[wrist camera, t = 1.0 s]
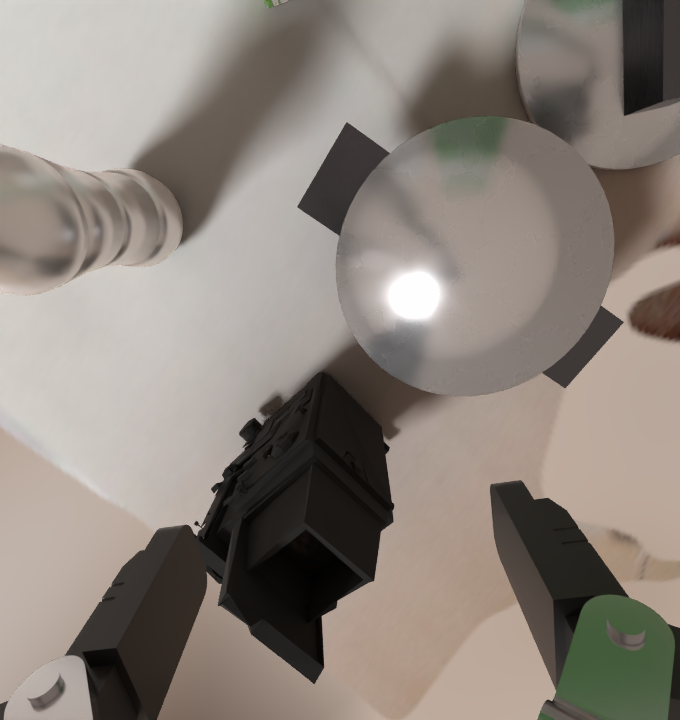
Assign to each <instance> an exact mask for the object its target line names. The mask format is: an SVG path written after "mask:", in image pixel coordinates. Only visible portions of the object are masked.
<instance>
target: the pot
mask: <svg viewBox="0 0 680 720" xmlns="http://www.w3.org/2000/svg"><path fill="white" fill-rule="evenodd" d="M298 208H299V209H301V210H302V211H304V212H305V213H307V214H308V215H310V216H311V217H313V218H314V219H316V220H317V221H318V222H320V223H321V224H323V225H324V226H326V227H327V228H329V229H330V230H332V231H333V232H335V233H336V234H338V235H339V236H340V237H339V241H338V248H337V257H336V282H337V289H338V296H339V300H340V303H341V307H342V311H343V314H344V316H345V319H346V321H347V323H348V326H349V328H350V330H351V332H352V333H353V335H354V337H355V338H356V340H357V342H358V343H359V344H360V346H361V347H362V348H363V349H364V351H365V352H366V353H367V354H368V356H369V357H370V358H371V359H372V360H373V361H374V362H375V363H377V364H378V365H379V366H380V367H381V368H382V369H384V370H385V371H386V372H388V373H389V374H390V375H392V376H393V377H395V378H397V379H398V380H400V381H402V382H404V383H406V384H408V385H410V386H413V387H415V388H418V389H420V390H423V391H427V392H431V393H435V394H440V395H448V396H477V395H485V394H491V393H495V392H499V391H503V390H506V389H509V388H512V387H514V386H517V385H520V384H522V383H524V382H526V381H528V380H530V379H532V378H534V377H536V376H537V375H539V374H540V373H543V374H545V375H546V376H548V377H549V378H551V379H552V380H554V381H555V382H557V383H558V384H560V385H561V386H563V387H564V388H566V387H567V386H568V385H569V384H570V382H571V381H572V380H573V379H574V378H575V377H576V376H577V374H578V373H579V372H580V371H581V370H582V369H583V368H584V367H585V365H586V364H587V363H588V362H589V361H590V360H591V359H592V358H593V356H594V355H595V354H596V353H597V352H598V351H599V350H600V348H601V347H602V346H603V345H604V344H605V343H606V342H607V341H608V339H609V338H610V337H611V336H612V335H613V334H614V333H615V332H616V330H617V329H618V328H619V327H620V325H622V324H623V323H624V322H623V321H621V320H620V319H619V318H617V317H616V316H615V315H613V314H612V313H610V312H609V311H608V310H606V309H605V308H603V307H602V306H601V303H602V301H603V299H604V297H605V294H606V291H607V287H608V284H609V281H610V278H611V272H612V266H613V261H614V243H615V239H614V228H613V220H612V216H611V211H610V207H609V203H608V201H607V198H606V196H605V193H604V190H603V188H602V186H601V184H600V182H599V180H598V179H597V177H596V175H595V173H594V172H593V170H592V169H591V167H590V166H589V165H588V164H587V162H586V161H585V160H584V159H583V157H582V156H581V155H580V154H579V153H578V152H577V151H576V150H574V149H573V148H572V147H571V146H570V145H569V144H568V143H567V142H565V141H564V140H562V139H561V138H559V137H558V136H556V135H555V134H553V133H552V132H550V131H548V130H546V129H543V128H541V127H539V126H537V125H535V124H532V123H529V122H525V121H521V120H518V119H514V118H507V117H499V116H474V117H468V118H462V119H456V120H452V121H449V122H446V123H443V124H440V125H436V126H434V127H432V128H430V129H427V130H425V131H423V132H421V133H419V134H417V135H415V136H414V137H412V138H411V139H409V140H407V141H406V142H404V143H403V144H401V145H400V146H398V147H397V148H396V149H395V150H394V151H392V152H391V153H389V152H387V151H386V150H385V149H383V148H382V147H381V146H379V145H378V144H376V143H375V142H374V141H372V140H371V139H369V138H368V137H367V136H365V135H364V134H363V133H361V132H360V131H358V130H357V129H356V128H354V127H353V126H351V125H350V124H349V123H346V124H345V126H344V128H343V129H342V131H341V133H340V135H339V136H338V138H337V140H336V141H335V143H334V145H333V147H332V148H331V150H330V152H329V153H328V155H327V157H326V159H325V160H324V162H323V164H322V165H321V167H320V169H319V171H318V172H317V174H316V176H315V177H314V179H313V181H312V183H311V184H310V186H309V188H308V189H307V191H306V193H305V195H304V196H303V198H302V200H301V201H300V203H299V205H298Z"/></svg>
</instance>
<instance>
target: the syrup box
mask: <svg viewBox="0 0 680 720" xmlns="http://www.w3.org/2000/svg"><path fill="white" fill-rule="evenodd" d="M287 1H290V0H264V2H265V5H266V7H267V8H271V7H274V6H276V5H279V4H282V3H284V2H287Z"/></svg>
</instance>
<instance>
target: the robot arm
mask: <svg viewBox="0 0 680 720" xmlns="http://www.w3.org/2000/svg"><path fill="white" fill-rule="evenodd" d="M490 495H491V506H492V518H493V529H494V538H495V543H496V547H497V551H498V554H499V557H500V560H501V562H502V565H503V567H504V569H505V572H506V574H507V576H508V579H509V581H510V583H511V586H512V588H513V591H514V593H515V595H516V598H517V600H518V602H519V605H520V607H521V609H522V612H523V614H524V616H525V619H526V621H527V623H528V625H529V628H530V630H531V632H532V635H533V637H534V640H535V642H536V644H537V647H538V649H539V652H540V654H541V656H542V658H543V661H544V663H545V665H546V668H547V670H548V672H549V675H550V677H551V680H552V682H553V684H554V687H555V689H556V694H555V697H554V699H553V701H550V700H546V701H545V703H544V705H543V707H542V709H541V711H540V714H539V717H538V720H680V628H678V627H675V626H672V625H669V624H667V623H666V621H665V620H664V619H663V618H662V617H661V616H660V615H659V614H657V613H656V612H655V611H654V610H652V609H651V608H649V607H648V606H646V605H645V604H643V603H641V602H639V601H636V600H634V599H631V598H629V596H628V595H627V594H626V593H625V591H624V590H623V588H622V587H621V585H620V584H619V583H618V581H617V580H616V578H615V577H614V576H613V574H612V573H611V571H610V570H609V569H608V567H607V566H606V565H605V563H604V562H603V560H602V559H601V558H600V556H599V555H598V553H597V552H596V551H595V549H594V548H593V546H592V545H591V544H590V543H588V540H587V538H586V537H585V535H584V534H583V533H582V531H581V530H579V529H578V526H577V524H576V523H575V521H574V520H573V519H572V517H571V516H570V514H569V513H568V512H567V510H565V509H564V508H562V507H561V506H559V505H558V504H556V503H555V502H553V501H552V500H550V499H549V498H544V499H536V500H534V499H533V497H532V496H531V494H530V492H529V491H528V489H527V488H526V486H525V485H524V483H523V482H522V481H521V480H519V481H511V482H504V483H497V484H491V486H490ZM206 588H207V573H206V568H205V565H204V562H203V560H202V557H201V554H200V551H199V548H198V545H197V542H196V539H195V536H194V533H193V531H192V529H191V527H190V526H189V525H181V526H174V527H166V528H160V529H158V530H157V531H156V533H155V534H154V536H153V537H152V539H151V541H150V542H149V544H148V546H147V547H146V549H145V550H143V551H139V552H138V553H137V554H136V555H135V556H134V557H133V558H132V559H131V560H129V561H128V562H127V563H126V564H125V565H124V566H123V567H122V569H121V570H120V572H119V573H118V575H117V576H116V578H115V579H114V581H113V582H112V586H111V587H109V589H108V590H107V592H106V593H105V595H104V596H103V598H102V602H99V604H98V606H97V607H96V609H95V610H94V612H93V613H92V615H91V616H90V618H89V619H88V621H87V622H86V624H85V625H84V627H83V629H82V630H81V632H80V633H79V635H78V636H77V638H76V639H75V641H74V642H73V644H72V645H71V647H70V648H69V650H68V652H67V653H66V655H65V656H63V657H60V658H57V659H54V660H52V661H50V662H48V663H46V664H45V665H43V666H41V667H40V668H38V669H37V670H36V671H34V672H33V673H32V674H31V675H29V676H28V677H27V678H26V679H25V680H24V681H23V682H22V683H21V684H20V685H19V687H18V688H17V689H16V690H15V692H14V693H13V694H12V696H11V697H10V699H9V701H7V702H4V703H2V704H0V720H157V717H158V715H159V712H160V710H161V707H162V705H163V702H164V699H165V697H166V694H167V692H168V689H169V686H170V684H171V681H172V679H173V676H174V673H175V671H176V668H177V666H178V663H179V661H180V658H181V656H182V653H183V650H184V648H185V645H186V642H187V640H188V637H189V635H190V632H191V630H192V627H193V624H194V622H195V619H196V617H197V614H198V612H199V609H200V606H201V604H202V601H203V599H204V596H205V593H206Z"/></svg>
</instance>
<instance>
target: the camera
mask: <svg viewBox="0 0 680 720" xmlns="http://www.w3.org/2000/svg"><path fill="white" fill-rule="evenodd" d="M239 435H240V436H241V437H242V438H244V439H245V440H246V441H247V442H246V443H245V445H244V446H243V447H245V446H246V445H248V444H249V445H248V446H247V447H246V448H245V451H244V452H243V453H242V454H241V455H239V456H238V457H237V458H236V459H235V460H234V461H233V462H232V463H231V464H230V465H229V466H228V467H227V468H225V470H224V472H223V474H222V476H223V478H224V481H223V482H220V483H216V484H215V485H214V486H213V487H212V488H211V490H212V491H213V493H215V492H216V491H217V490H218V491H217V493H216V495H215V496H216V497H215V499H214V501H213V503H212V505H211V507H210V509H209V511H208V513H207V515H206V517H205V520H204V522H203V524H202V526H203V525H204V524H205V523H206V524H205V526H204V528H202V526H200V525H198V524H199V523H198V522H197V521H196V522H195V523H194V524H195V525H196V526H197V525H198V526H199V527H201V528H202V529H201V530H200V531H198V535H197V536H196V535H195V534H194V536H195V539H196V542H197V545H198V548H199V551H200V554H201V557H202V560H203V562H204V565H205V568H206V572H207V573H208V574H209V575H211V576H212V577H213V578H214V579H215V580H216V581H217V582H218V583H219V584H222V586H221V591H220V596H219V602H218V606H222V607H223V608H225V609H226V610H227V611H229V612H230V613H232V614H233V615H234V616H236V617H237V618H239V619H240V620H241V621H243V622H244V623H246V624H247V625H248V628H249V630H250V633H251V635H253V636H254V637H256V638H257V639H258V640H259V641H260V642H262V643H263V644H264V645H266V646H267V647H268V648H269V649H270V650H272V651H273V652H274V653H276V654H277V655H278V656H280V657H281V658H282V659H284V660H285V661H286V662H287V663H289V664H290V665H291V666H292V667H294V668H295V669H296V670H297V671H299V672H300V673H301V674H302V675H304V676H305V677H306V678H308V679H309V680H310V681H311V682H312V683H313V684H315V682H316V680H317V679H318V677H319V675H320V674H321V672H322V670H323V668H324V655H323V635H322V615H324V614H326V613H328V612H330V611H332V610H333V609H335V608H336V606H337V600H339V599H341V598H343V597H344V596H346V595H348V594H350V593H351V592H353V591H355V590H357V589H358V588H360V587H362V586H364V585H365V584H367V583H369V582H372V581H374V578H375V571H376V563H377V556H378V549H379V542H380V533H381V531H382V530H383V529H385V528H386V527H387V526H389V525H390V524H391V523H393V522H394V521H393V513H392V511H393V509H394V504H393V503H392V500H391V493H390V485H389V478H388V471H387V464H386V456H385V454H386V453H387V452H388V451H389V448H390V447H389V446H388V445H387V444H386V443H385V442H384V440H383V434H382V427H381V426H380V425H379V424H378V423H377V422H376V421H375V420H374V419H373V418H372V417H371V416H370V415H369V414H368V413H367V412H366V411H365V410H364V409H363V408H362V407H361V406H360V405H359V404H358V403H357V402H356V401H355V400H354V399H353V398H352V397H351V396H350V395H349V394H348V393H347V392H346V391H345V390H344V389H343V388H342V387H341V386H340V385H339V384H338V383H337V382H336V381H335V380H334V379H333V378H332V377H331V376H330V375H329V374H325V375H324V374H323V373H318V374H317V375H316V376H315V377H313V378H312V379H311V380H310V381H309V382H308V384H307V385H306V387H305V388H304V389H303V390H302V391H301V392H299V393H298V394H297V395H296V396H295V397H294V398H293V399H292V400H290V401H289V402H288V403H287V404H286V405H285V406H284V407H283V408H281V409H280V410H279V411H278V412H277V413H276V414H275V415H274V416H273V417H271V418H270V419H269V420H268V421H267V422H266V423H265V424H264V425H262V426H261V424H260V423H259V422H258V421H257V420H256V419H255V418H253V419H251V420H250V421H248V422H247V424H246V425H245V426H244V427H243V428H242V430H241V431H240V433H239ZM203 537H204V539H203Z"/></svg>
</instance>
